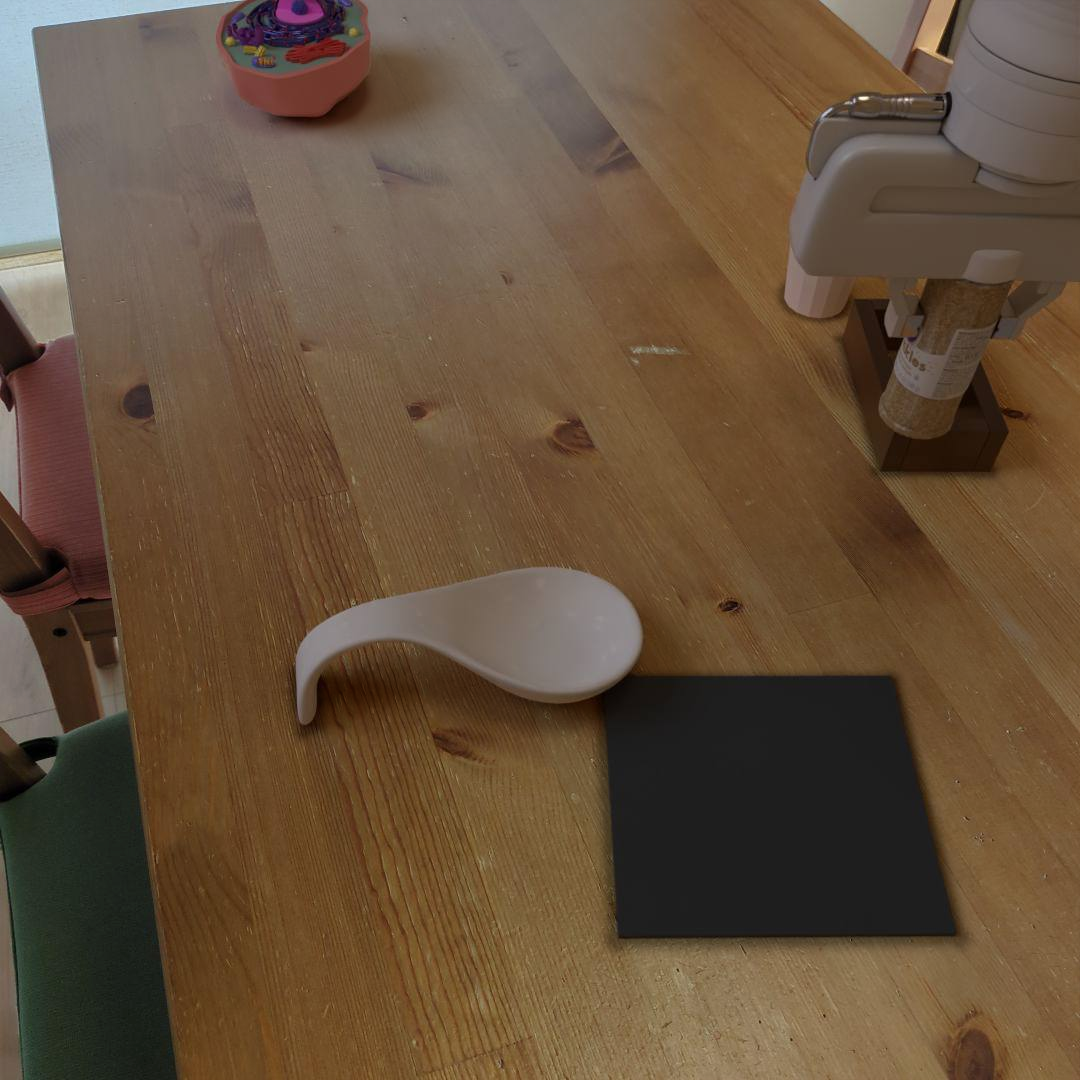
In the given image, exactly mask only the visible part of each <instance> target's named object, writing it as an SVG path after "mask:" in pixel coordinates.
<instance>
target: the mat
mask: <svg viewBox="0 0 1080 1080" xmlns="http://www.w3.org/2000/svg"><path fill="white" fill-rule="evenodd" d="M603 704H604V705H603V706H604V720H605V721H604V722H605V737H606V738H605V739H606V754H607V755H606V756H607V757H606V758H607V770H608V771H607V773H608V788H609V790H608V791H609V804H610V805H609V806H610V807H609V808H610V823H611V825H610V826H611V840H612V856H613V857H612V858H613V874H614V891H615V906H616V924H617V925H616V926H617V938H618V939H703V938H705V939H707V938H709V939H712V938H714V939H715V938H718V939H719V938H720V939H721V938H723V939H724V938H726V939H727V938H844V937H845V938H849V937H850V938H853V937H854V938H855V937H856V938H857V937H858V938H859V937H861V938H862V937H866V938H867V937H869V938H871V937H955V936H956V935H958V932H957V927H956V923H955V920H954V915H953V912H952V908H951V904H950V899H949V896H948V892H947V888H946V884H945V881H944V876H943V872H942V868H941V865H940V861H939V858H938V853H937V849H936V844H935V841H934V837H933V833H932V829H931V825H930V822H929V817H928V813H927V810H926V806H925V801H924V799H923V794H922V790H921V787H920V782H919V778H918V775H917V771H916V767H915V763H914V759H913V756H912V751H911V748H910V744H909V740H908V736H907V731H906V728H905V724H904V721H903V716H902V712H901V708H900V704H899V701H898V697H897V692H896V689H895V686H894V681H893V678H892V675H626V676H625V677H624V678H623V679H622V680H620V681H619V682H618V683H617V684H615V685H614V686H613V687H611V688H609V689H607V690H606V691H604V692H603Z"/></svg>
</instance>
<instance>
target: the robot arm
mask: <svg viewBox="0 0 1080 1080" xmlns="http://www.w3.org/2000/svg"><path fill="white" fill-rule="evenodd" d="M846 110H847V112H846ZM805 166H806V171H805V174H804V175H803V178H802V181H801V183H800V186H799V189H798V191H797V195H796V196H795V197H796V198H795V201H794V204H793V207H792V210H791V213H790V217H789V222H788V237H789V241H790V243H791V247H792V251H793V254H794V256H795V258H796V260H797V262H798V263H799V265H800V266H801V267H802V269H803V270H804V271H805V273H807V274H808V275H811V276H831V277H857V278H882V279H883V281H884V284H885V286H886V290H887V293H888V295H889V299H890V301H889V304H888V307H887V310H886V313H885V319H884V321H885V327H886V331H887V334H888V336H889V337H898V338H916V337H917V335H918V333H919V331H918V328H919V327H920V326H921V325H922V322H923V319H924V317H925V315H924V312H923V309H922V308H921V307H920V306H919V305H920V301H919V299H920V297H919V296H918V295H913V294H904V292H912V291H914V290H915V288H916V286H917V283H918V280H919V279H921V280H922V279H924V280H927V279H963V278H961V276H962V275H963V274H964V273H965V272H966V270H967V267H968V264H969V262H970V259H971V256H972V255H973V253H974V252H976V251H979V250H1015V251H1020V252H1022V253H1023V257H1022V260H1021V262H1020V265H1019V267H1018V269H1017V271H1016V275H1015V278H1014V279H1012V280H1011V281H1014V282H1021V283H1020V284H1019V285H1018V286H1017V287H1016V288H1015V289H1014V290H1013V291H1012V292H1011V293H1009V294H1008V295H1007V298H1006V300H1005V302H1004V304H1003V307H1002V309H1001V312H1000V316H999V319H998V321H997V323H996V325H995V328H994V330H993V332H992V334H991V337H990V339H989V340H1002V341H1003V340H1004V341H1005V340H1006V341H1017V340H1018V339H1019V338H1020V336H1021V335H1022V332H1023V330H1024V327H1026V326H1025V325H1026V323H1027V321H1028V319H1031V318H1033V317H1034V316H1035V315H1037V314H1038V313H1039V312H1041V311H1042V310H1043V309H1045V308H1046V307H1047V306H1049V305H1050V304H1051V303H1052V302H1054V301H1055V300H1057V299H1058V298H1059V297H1060V296H1061V295H1062V294H1063V293H1064V290H1065V288H1066V286H1067V284H1068V283H1080V0H974V1H973V2H972V5H971V7H970V10H969V12H968V16H967V19H966V21H965V25H964V28H963V31H962V33H961V37H960V40H959V43H958V46H957V49H956V52H955V55H954V57H953V61H952V65H951V67H950V71H949V73H948V76H947V80H946V83H945V86H944V89H943V92H942V93H940V92H932V93H931V92H907V93H896V94H895V93H893V94H887V93H882V92H878V91H859V92H854V93H851V94H850V95H849V99H847V100H843V101H840V102H837V103H835V104H833V105H831V106H829V107H828V108H826V109H825V110H824V111H823V112H821V113H819V114H818V116H817V117H816V118H815V120H814V123H813V125H812V127H811V131H810V135H809V139H808V143H807V147H806V151H805ZM790 243H789V244H790ZM903 291H904V292H903Z"/></svg>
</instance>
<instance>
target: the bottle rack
mask: <svg viewBox="0 0 1080 1080" xmlns="http://www.w3.org/2000/svg"><path fill="white" fill-rule="evenodd" d="M919 300H920V298H919ZM889 301H890V298H854V299H853V301H852V305H851V308H850V312H849V315H848V319H847V322H846V325H845V329H844V332H843V336H842V339H841V340H842V343H843V347H844V350H845V354H846V358H847V361H848V364H849V368H850V372H851V375H852V378H853V382H854V385H855V389H856V392H857V395H858V399H859V403H860V406H861V409H862V412H863V416H864V420H865V423H866V426H867V427H866V428H867V430H868V433H869V438H870V440H871V443H872V447H873V451H874V455H875V458H876V460H877V465H878V468H879V471H880V472H883V473H884V472H887V473H889V472H890V473H892V472H893V473H894V472H897V473H898V472H900V473H903V472H907V473H909V472H912V473H915V472H917V473H918V472H922V473H923V472H924V473H925V472H927V473H928V472H929V473H930V472H932V473H945V472H946V473H949V472H950V473H971V472H973V473H987V472H988V473H990V472H991V471H992V469H993V467H994V464H995V462H996V460H997V458H998V457H999V455H1000V452H1001V450H1002V448H1003V446H1004V443H1005V441H1006V439H1007V438H1008V435H1009V433H1010V430H1009V427H1008V425H1007V422H1006V420H1005V417H1004V414H1003V412H1002V410H1001V408H1000V405H999V402H998V400H997V398H996V396H995V392H994V390H993V388H992V385H991V384H990V380H989V378H988V375H987V373H986V371H985V368H984V366H983V363H982V361H981V360H980V362H979V364H978V366H977V369H976V371H975V373H974V375H973V378H972V380H971V382H970V384H969V386H968V388H967V390H966V391H965V393H964V395H963V397H962V399H961V401H960V403H959V406H958V408H957V411H956V413H955V416H954V422H953V424H952V426H951V428H950V430H949V431H948V432H947V433H945V434H944V435H942V436H940V437H935V438H932V439H914V438H909V437H906V436H904V435H901V434H899V433H897V432H895V431H894V430H893V429H891V428H890V427H888V426H887V425H886V424H885V422H884V421H883V420H882V418H881V416H880V415H879V401H880V397H881V396H882V394H883V393H884V392H885V390H886V388H887V384H888V382H889V379H890V377H891V374H892V371H893V368H894V364H895V360H896V357H897V354H896V355H890V354H889V351H899V350H900V347H901V344H902V342H903V339H904V338H898V337H889V336H888V334H887V331H886V327H885V321H884V319H885V313H886V310H887V307H888V304H889Z"/></svg>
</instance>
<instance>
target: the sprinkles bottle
mask: <svg viewBox="0 0 1080 1080" xmlns="http://www.w3.org/2000/svg"><path fill="white" fill-rule="evenodd" d="M1022 257H1023V253H1022V252H1020V251H1015V250H979V251H976V252H974V253H973V255H972V256H971V259H970V262H969V264H968V267H967V270H966V272H965V273H964V274H963V275H962V276H961V278H963V279H925V283H924V285H923V289H922V292H921V294H920V297H919V299H920V300H919V301H920V305H919V306H920V307H921V308H922V309H923V312H924V315H925V317H924V319H923V322H922V325H921V326H920V327H919V328H918V331H919V333H918V335H917V337H916V338H904V339H903V342H902V344H901V347H900V350H898V352H897V354H896V356H897V357H896V360H895V364H894V368H893V371H892V374H891V377H890V379H889V382H888V384H887V388H886V390H885V392H884V393H883V394H882V396H881V397H880V401H879V415H880V416H881V418H882V420H883V421H884V422H885V424H886V425H887V426H888V427H890V428H891V429H893V430H894V431H895V432H897V433H899V434H901V435H904V436H906V437H909V438H914V439H932V438H935V437H940V436H942V435H944V434H945V433H947V432H948V431H949V430H950V428H951V426H952V424H953V422H954V416H955V413H956V411H957V408H958V406H959V403H960V401H961V399H962V397H963V395H964V393H965V391H966V390H967V388H968V386H969V384H970V382H971V380H972V378H973V375H974V373H975V371H976V369H977V366H978V364H979V362H980V361H981V360H982V357H983V355H984V353H985V350H986V348H987V346H988V344H989V341H990V340H991V339H990V337H991V334H992V332H993V330H994V328H995V325H996V323H997V321H998V319H999V316H1000V312H1001V309H1002V307H1003V304H1004V302H1005V300H1006V298H1007V297H1008V296H1009V294H1010V293H1009V292H1010V291H1011V288H1012V286H1013V283H1014V282H1015V281H1011V280H1012V279H1014V278H1015V275H1016V271H1017V269H1018V267H1019V265H1020V262H1021V260H1022Z"/></svg>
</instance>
